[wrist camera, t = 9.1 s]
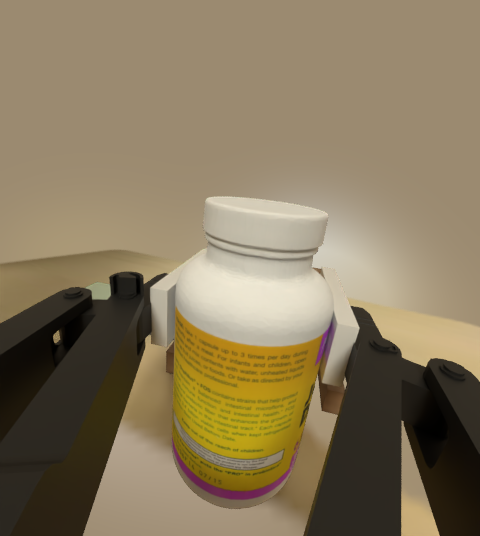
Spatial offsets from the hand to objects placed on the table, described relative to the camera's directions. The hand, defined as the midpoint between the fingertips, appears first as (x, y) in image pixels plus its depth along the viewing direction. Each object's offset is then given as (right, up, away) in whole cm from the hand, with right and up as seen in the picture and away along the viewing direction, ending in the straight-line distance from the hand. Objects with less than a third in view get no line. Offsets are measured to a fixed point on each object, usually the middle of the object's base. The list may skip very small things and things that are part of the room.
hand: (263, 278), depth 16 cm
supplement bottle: (-2, -9, -2) cm, 9 cm away
